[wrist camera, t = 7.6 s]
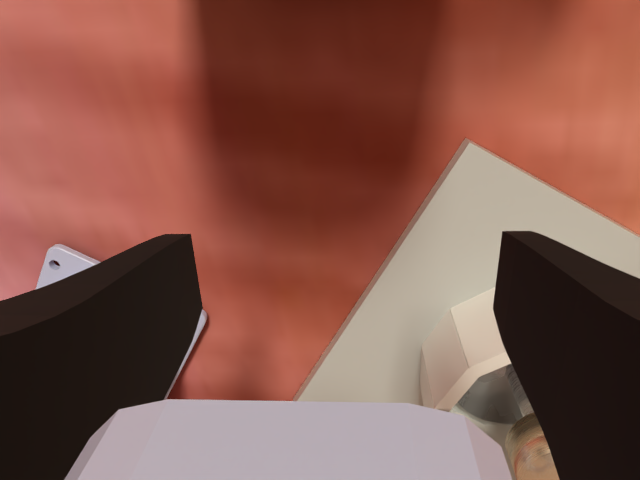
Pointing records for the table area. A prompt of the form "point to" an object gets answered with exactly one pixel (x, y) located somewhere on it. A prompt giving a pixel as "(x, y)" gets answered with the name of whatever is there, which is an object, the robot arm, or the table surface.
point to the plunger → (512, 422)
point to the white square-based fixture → (453, 289)
